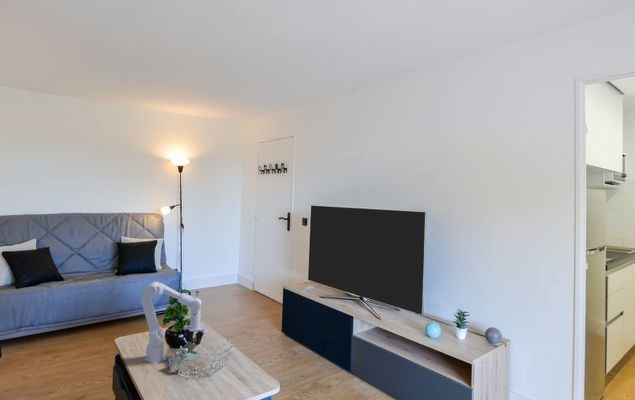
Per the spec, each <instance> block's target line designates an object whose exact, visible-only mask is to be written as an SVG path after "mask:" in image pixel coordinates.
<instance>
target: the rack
mask: <svg viewBox="0 0 635 400" xmlns="http://www.w3.org/2000/svg"><path fill="white" fill-rule="evenodd" d="M178 356H180V359H181V360H183V361H185V360H187V359H188V360H189V362H191V361H192V360H194V359H196V358H200V357H201V353H200V352H199V351H197V350H195V349H193V350H192V351H191V352H189V353H186V354H183V353H182V352H181V353H179V354H176V355H174V356H173V357H178ZM170 358H171V357H169V358H167V363H169V360H170Z"/></svg>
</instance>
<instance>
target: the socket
mask: <svg viewBox="0 0 635 400" xmlns="http://www.w3.org/2000/svg"><path fill="white" fill-rule="evenodd" d="M169 358H170V360H169V362H168V366H169V367H168V369H169V371H172V370H174V369H173V368H175V367H177V373H180V372H182V373H184V372H186V371H185V370H187V371H188V369H189V368H190V367H189V366H190V365H189V362H190V361H189V360H188V359H187V360H185V361H183V360H181V359H180V356H178V357H174V356H172V357H169ZM175 369H176V368H175ZM183 371H184V372H183ZM180 374H181V373H180Z"/></svg>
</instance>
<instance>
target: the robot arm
mask: <svg viewBox="0 0 635 400" xmlns="http://www.w3.org/2000/svg"><path fill="white" fill-rule="evenodd" d="M163 294H164V295H165V296H166V295H167V296H168V297H171V298H174V299H177V302H178V304H179V303H180V304H181V305H184V306H186V307H188V308H189V309H190V312H189V313H190V314H189V315H190V317H189V321H190V322H189V325H188V324H185V325H184V326H183V330H185V335H186V337H187V339H188V342H189V341H191V340H192V339H193V338H194V333H195V332H196V333H195V337H196V338H197V345H200V344H201V341H202V338H203V336H204V335H205V334H206V333H207V332H208V331H207V328H204V327H203V326H201V318H202V317H201V316H202V315H201V313H202V312H201V310H202V309H201V308H202V307H201V306H202V304H203V303H202V300H201V298H200V297H196V296H192V295H189V293H188V292H181V293H180V292H178V291H176V290H175V289H173V288H171V287H169V286H167V285H166V284H164V282H160V281H157V280H155V281H152V282H150V284H149V285H147V286H146V287H145V288H144V290H143V293H142V296H141V299H140V301H141V305H142V309H143V312H144V316H145V319H146V323H147V326H148V330H149V333H148V338H149V339H148V344H147V345H146V348H145V358H144V361H146V362H148V363H150V364H153V365H156V364H158V363H160V362H163V361H165V360H168V358H167V357H165V356H164V348H165V344H164V343H165V342H164V340H163V339H164V338H165V335H166V334H165V332H164V330H163V329H162V327H161V326H160V325H159V321H158V318H157V314H156V310H155V307H154V303H153V299H154V297H155V295H158V296H159V295H163Z"/></svg>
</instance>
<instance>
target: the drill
mask: <svg viewBox="0 0 635 400" xmlns="http://www.w3.org/2000/svg"><path fill="white" fill-rule="evenodd" d="M197 347H198V345H197V338H196V336H193V339H192V340H191V341H189V340H188V342H187V343H186V344H184V345H183V347H182V349H181V353H183V354H186V353H189V352H191V351H192V350H195V348H197Z"/></svg>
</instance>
